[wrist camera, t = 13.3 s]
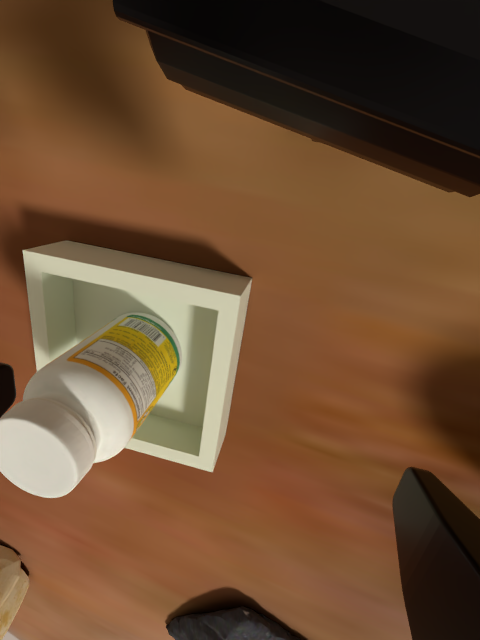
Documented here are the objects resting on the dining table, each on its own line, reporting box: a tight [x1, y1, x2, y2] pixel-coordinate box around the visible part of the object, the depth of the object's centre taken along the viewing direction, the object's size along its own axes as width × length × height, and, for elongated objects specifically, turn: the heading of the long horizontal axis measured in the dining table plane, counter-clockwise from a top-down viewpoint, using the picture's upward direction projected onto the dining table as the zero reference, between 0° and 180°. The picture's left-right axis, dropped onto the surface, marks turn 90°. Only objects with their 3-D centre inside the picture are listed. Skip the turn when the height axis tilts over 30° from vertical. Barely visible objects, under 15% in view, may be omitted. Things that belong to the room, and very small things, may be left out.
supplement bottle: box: [0, 312, 182, 498], centre depth 17 cm, size 5×5×10 cm
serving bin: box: [23, 240, 252, 472], centre depth 21 cm, size 12×12×4 cm
